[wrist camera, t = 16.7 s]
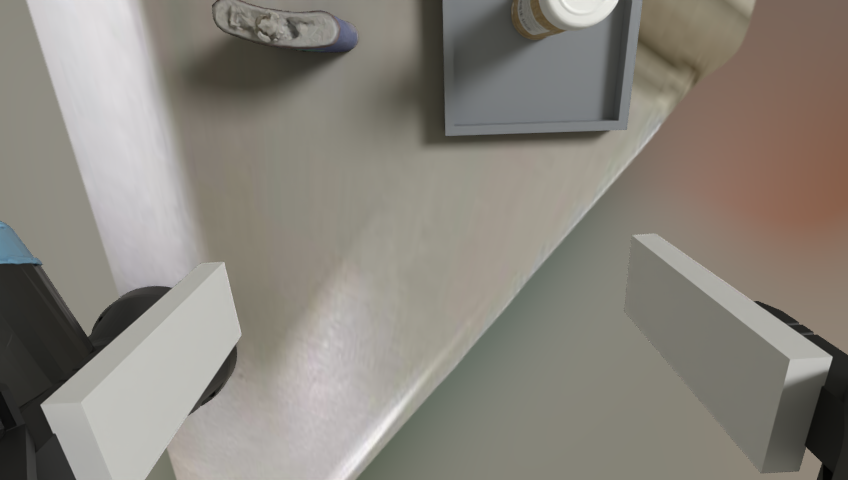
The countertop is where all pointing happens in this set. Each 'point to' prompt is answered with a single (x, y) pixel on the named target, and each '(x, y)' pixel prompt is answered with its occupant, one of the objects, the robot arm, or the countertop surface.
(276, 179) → the countertop surface
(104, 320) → the robot arm
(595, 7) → the sprinkles bottle
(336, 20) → the flask
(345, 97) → the countertop surface
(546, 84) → the tray
